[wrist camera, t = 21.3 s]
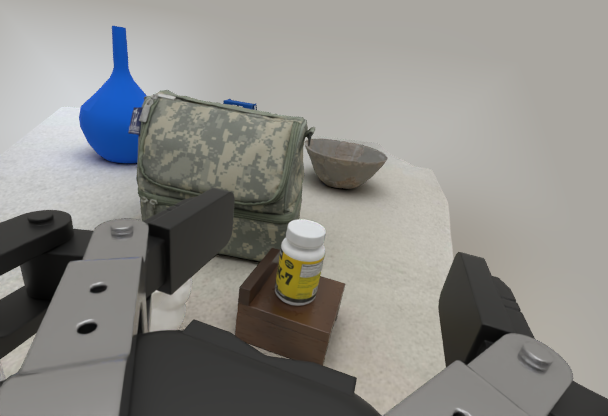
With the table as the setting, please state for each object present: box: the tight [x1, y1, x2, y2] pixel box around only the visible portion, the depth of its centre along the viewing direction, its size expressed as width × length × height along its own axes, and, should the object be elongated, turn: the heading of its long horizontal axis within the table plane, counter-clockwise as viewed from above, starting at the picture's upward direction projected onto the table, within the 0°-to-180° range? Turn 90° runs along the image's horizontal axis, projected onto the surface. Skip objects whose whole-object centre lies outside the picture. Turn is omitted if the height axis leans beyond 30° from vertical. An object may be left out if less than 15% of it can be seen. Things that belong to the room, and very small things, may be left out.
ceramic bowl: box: [305, 139, 387, 189], centre depth 89 cm, size 22×23×10 cm
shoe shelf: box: [235, 248, 345, 366], centre depth 38 cm, size 10×9×7 cm
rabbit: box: [150, 278, 192, 332], centre depth 30 cm, size 12×9×12 cm
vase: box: [79, 26, 146, 163], centre depth 78 cm, size 18×18×30 cm
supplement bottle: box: [275, 219, 326, 306], centre depth 35 cm, size 5×5×8 cm
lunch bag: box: [128, 90, 315, 261], centre depth 53 cm, size 26×18×22 cm
